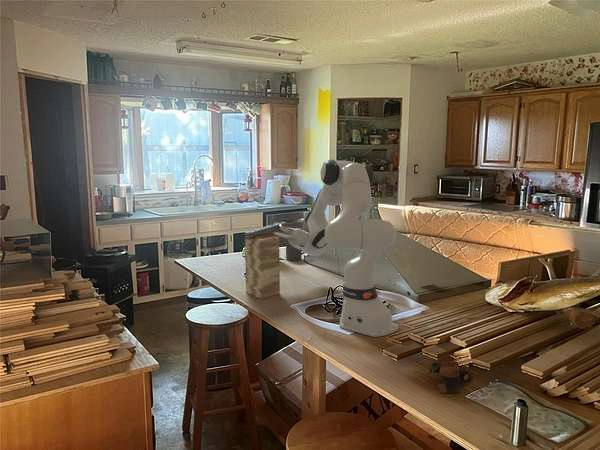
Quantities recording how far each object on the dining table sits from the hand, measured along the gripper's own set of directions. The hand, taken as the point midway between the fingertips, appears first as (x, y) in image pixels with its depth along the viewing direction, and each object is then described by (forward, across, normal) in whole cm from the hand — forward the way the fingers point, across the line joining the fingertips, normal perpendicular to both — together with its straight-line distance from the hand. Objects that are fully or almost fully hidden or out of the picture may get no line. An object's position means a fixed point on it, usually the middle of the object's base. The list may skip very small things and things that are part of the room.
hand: (276, 226), depth 216 cm
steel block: (+3, 0, +5) cm, 6 cm away
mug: (-55, -41, +3) cm, 68 cm away
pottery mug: (0, +102, +36) cm, 108 cm away
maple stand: (-8, 0, +30) cm, 31 cm away
